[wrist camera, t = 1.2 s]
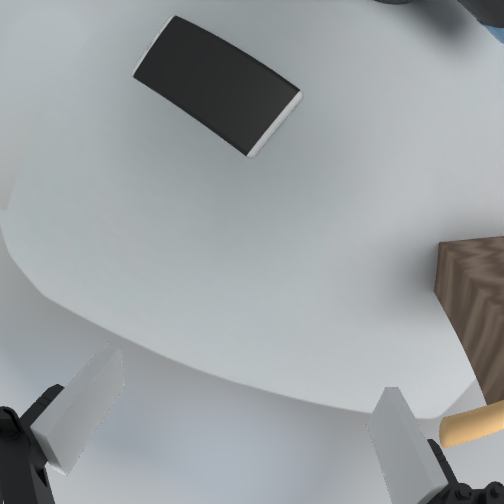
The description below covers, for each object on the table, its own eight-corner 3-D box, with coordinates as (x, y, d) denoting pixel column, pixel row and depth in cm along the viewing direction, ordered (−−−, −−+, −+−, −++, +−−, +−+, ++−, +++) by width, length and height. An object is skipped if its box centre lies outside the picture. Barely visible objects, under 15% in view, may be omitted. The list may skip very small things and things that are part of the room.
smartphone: (252, 159, 44) (250, 160, 42) (133, 76, 41) (128, 75, 39) (305, 95, 38) (305, 93, 37) (175, 15, 35) (170, 13, 33)
